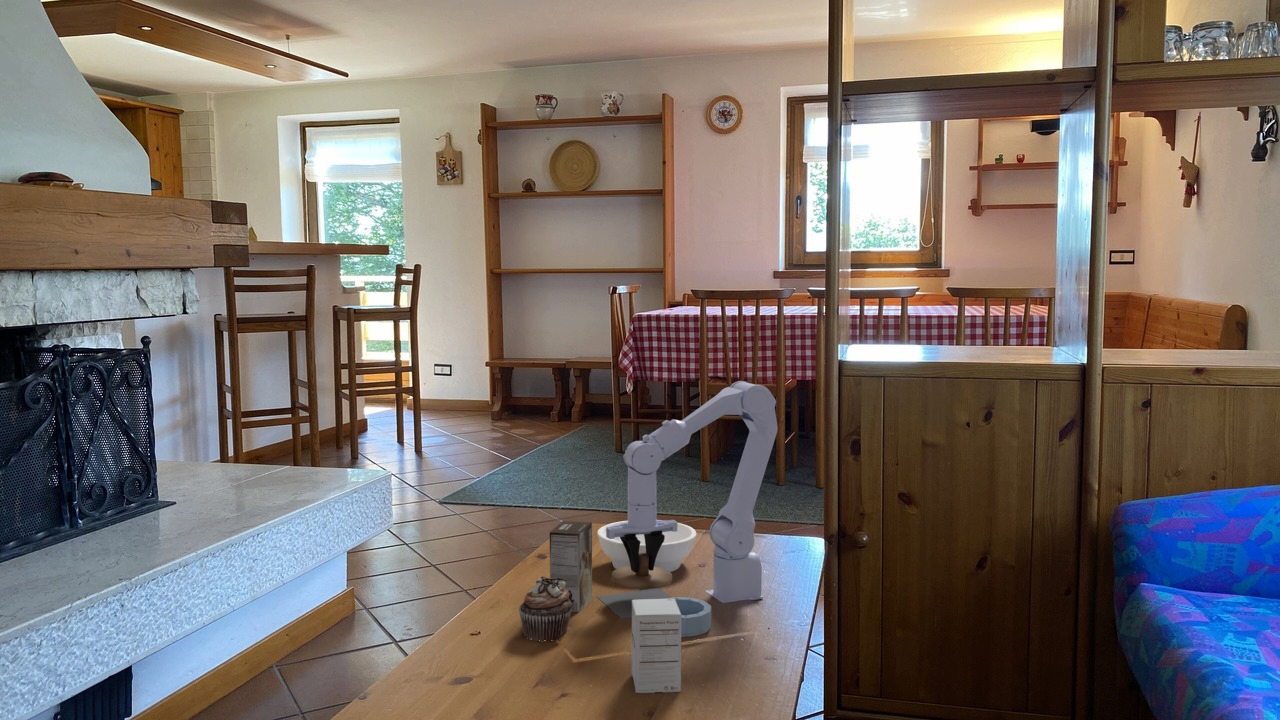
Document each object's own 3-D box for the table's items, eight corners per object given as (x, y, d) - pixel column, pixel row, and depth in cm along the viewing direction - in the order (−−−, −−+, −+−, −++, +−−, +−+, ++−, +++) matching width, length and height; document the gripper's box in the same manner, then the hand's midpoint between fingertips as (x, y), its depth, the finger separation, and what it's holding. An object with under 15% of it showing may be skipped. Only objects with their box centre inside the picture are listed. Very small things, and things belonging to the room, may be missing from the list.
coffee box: (562, 597, 185) (562, 520, 184) (592, 599, 183) (593, 521, 182) (548, 612, 176) (548, 531, 175) (580, 615, 174) (580, 533, 173)
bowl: (661, 548, 221) (662, 515, 220) (716, 573, 202) (716, 536, 201) (579, 562, 209) (579, 526, 209) (628, 589, 190) (629, 550, 189)
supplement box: (630, 674, 148) (631, 598, 147) (675, 673, 148) (676, 597, 147) (634, 694, 140) (634, 614, 139) (681, 692, 141) (682, 613, 140)
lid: (656, 568, 188) (657, 544, 187) (682, 585, 177) (683, 560, 176) (602, 573, 183) (603, 549, 182) (625, 591, 172) (626, 565, 171)
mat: (659, 590, 189) (659, 587, 189) (688, 612, 176) (688, 609, 176) (596, 599, 184) (596, 596, 184) (621, 622, 171) (621, 619, 171)
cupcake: (523, 623, 170) (523, 571, 169) (574, 624, 170) (574, 572, 169) (514, 643, 160) (514, 587, 160) (568, 644, 160) (568, 588, 159)
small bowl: (694, 614, 175) (694, 594, 175) (721, 634, 165) (721, 612, 165) (642, 622, 171) (642, 601, 171) (666, 643, 161) (666, 621, 160)
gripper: (667, 495, 185) (667, 560, 186) (600, 501, 179) (600, 568, 180) (682, 502, 179) (681, 569, 180) (613, 509, 173) (613, 579, 174)
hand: (642, 570), depth 180 cm, fingers closed on lid, 3 cm apart
